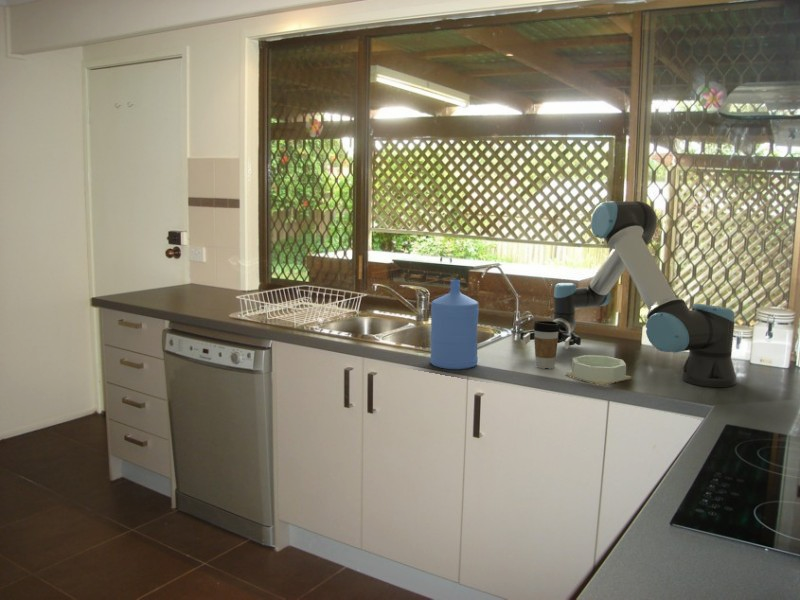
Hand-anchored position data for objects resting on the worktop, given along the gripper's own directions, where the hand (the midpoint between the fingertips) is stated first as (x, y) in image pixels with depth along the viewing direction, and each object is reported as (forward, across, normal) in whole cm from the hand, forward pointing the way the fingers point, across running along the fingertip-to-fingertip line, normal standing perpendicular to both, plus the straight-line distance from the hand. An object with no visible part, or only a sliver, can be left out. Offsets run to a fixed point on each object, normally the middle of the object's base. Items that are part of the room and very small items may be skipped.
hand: (544, 342), depth 221 cm
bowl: (+6, -18, -8) cm, 20 cm away
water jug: (+9, +28, -8) cm, 31 cm away
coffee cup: (0, 0, -8) cm, 8 cm away
